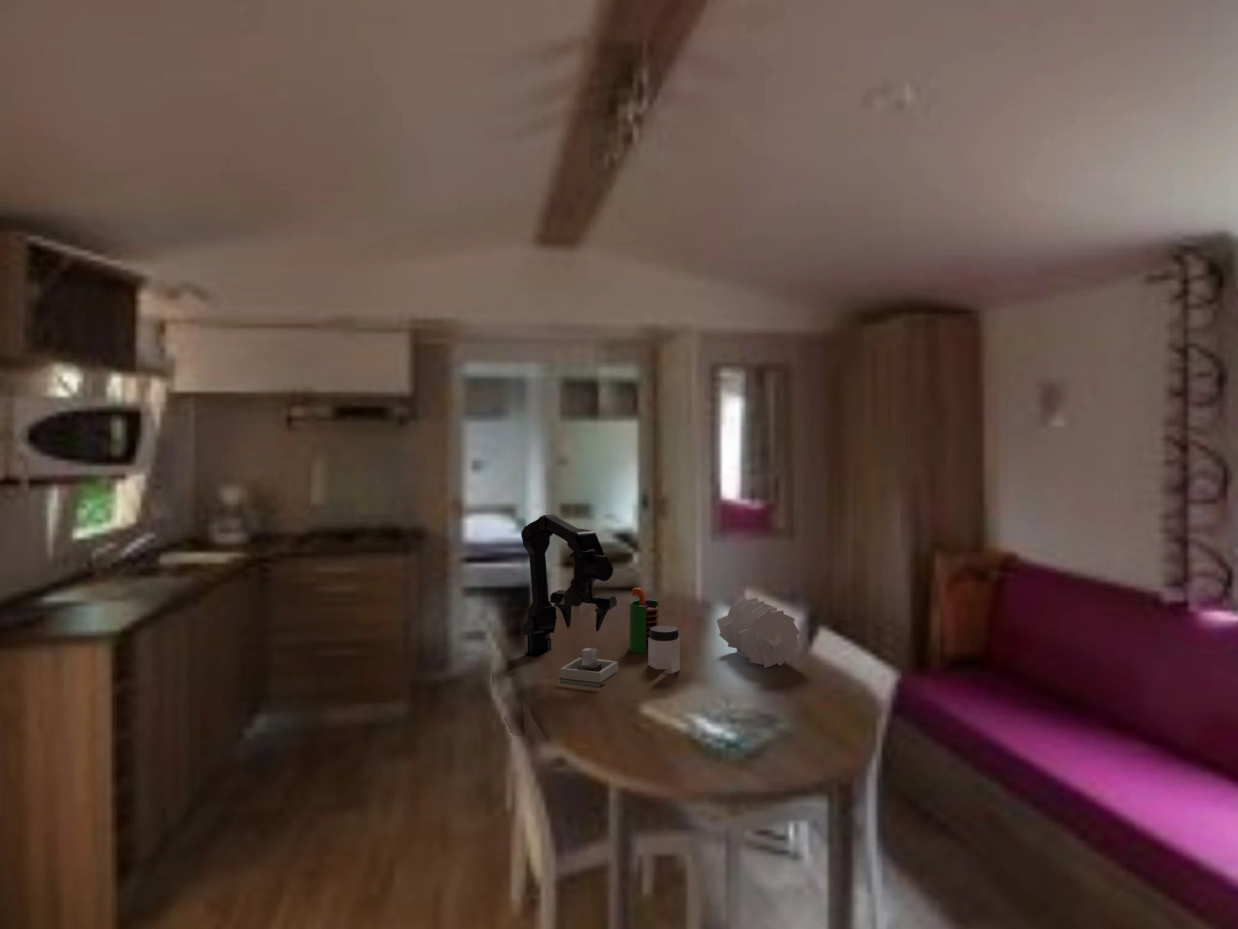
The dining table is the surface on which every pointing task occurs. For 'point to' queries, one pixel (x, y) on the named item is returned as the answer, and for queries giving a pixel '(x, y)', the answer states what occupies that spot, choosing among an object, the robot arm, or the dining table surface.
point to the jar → (664, 649)
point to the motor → (641, 621)
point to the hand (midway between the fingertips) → (582, 629)
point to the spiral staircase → (759, 632)
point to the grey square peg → (589, 660)
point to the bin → (587, 673)
